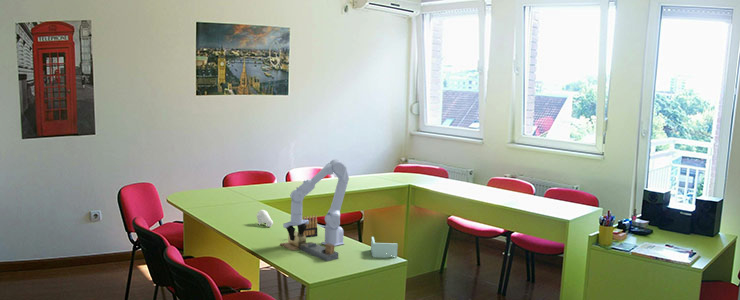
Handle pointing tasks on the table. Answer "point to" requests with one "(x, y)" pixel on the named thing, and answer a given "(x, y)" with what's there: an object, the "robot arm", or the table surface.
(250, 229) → the table surface
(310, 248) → the body
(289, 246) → the walnut board
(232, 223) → the table surface
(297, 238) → the tan rectangular block
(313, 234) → the ammunition clip
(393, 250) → the right angle wall
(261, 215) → the white toy sheep
